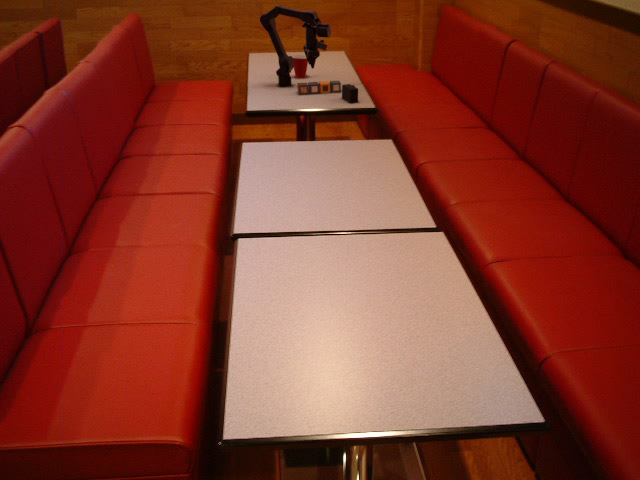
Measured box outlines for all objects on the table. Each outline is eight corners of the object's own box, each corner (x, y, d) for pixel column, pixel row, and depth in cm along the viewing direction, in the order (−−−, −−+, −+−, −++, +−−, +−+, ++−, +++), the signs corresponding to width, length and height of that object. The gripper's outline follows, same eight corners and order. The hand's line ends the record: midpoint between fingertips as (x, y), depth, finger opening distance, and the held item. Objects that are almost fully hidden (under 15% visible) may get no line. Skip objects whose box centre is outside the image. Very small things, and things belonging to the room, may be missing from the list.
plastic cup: (313, 77, 367) (313, 56, 361) (298, 80, 362) (297, 58, 356) (303, 73, 375) (303, 52, 369) (288, 76, 370) (287, 55, 364)
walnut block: (299, 94, 333) (298, 85, 331) (297, 92, 338) (297, 83, 336) (308, 94, 334) (308, 84, 332) (306, 91, 339) (306, 82, 336)
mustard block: (320, 93, 335) (320, 84, 333) (319, 90, 340) (318, 81, 338) (330, 92, 336) (330, 83, 334) (328, 90, 341) (328, 81, 338)
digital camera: (360, 102, 320) (360, 88, 316) (350, 103, 318) (350, 89, 315) (351, 97, 328) (351, 83, 325) (342, 98, 326) (342, 84, 323)
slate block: (310, 94, 334) (309, 84, 332) (308, 91, 339) (308, 82, 337) (319, 93, 335) (319, 84, 333) (317, 91, 340) (317, 81, 337)
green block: (331, 92, 336) (331, 83, 334) (329, 90, 341) (329, 81, 338) (340, 92, 337) (340, 82, 335) (338, 89, 341) (338, 80, 339)
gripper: (329, 39, 327) (329, 69, 334) (323, 32, 343) (323, 61, 350) (308, 40, 325) (308, 70, 332) (302, 33, 341) (303, 62, 349)
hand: (311, 66), depth 341 cm, fingers open, 9 cm apart
